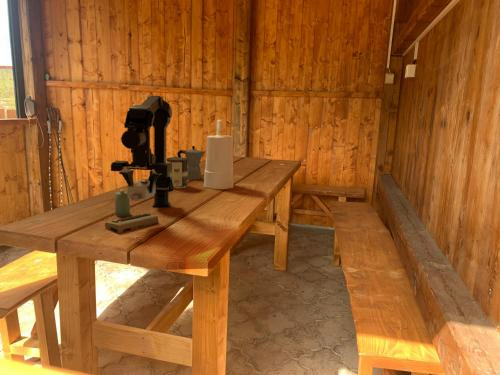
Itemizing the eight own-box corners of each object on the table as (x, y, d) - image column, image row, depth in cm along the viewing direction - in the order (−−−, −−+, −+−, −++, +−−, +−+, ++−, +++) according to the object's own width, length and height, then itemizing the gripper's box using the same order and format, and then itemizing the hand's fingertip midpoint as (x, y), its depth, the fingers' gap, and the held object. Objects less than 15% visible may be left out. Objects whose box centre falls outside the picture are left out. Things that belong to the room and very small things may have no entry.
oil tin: (116, 212, 144) (116, 188, 143) (130, 212, 145) (130, 188, 143) (114, 216, 140) (113, 191, 138) (128, 216, 140) (128, 191, 138)
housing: (143, 201, 123) (143, 186, 122) (125, 200, 123) (124, 185, 122) (157, 191, 136) (157, 178, 135) (140, 190, 137) (140, 178, 136)
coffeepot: (204, 176, 223) (204, 145, 219) (205, 179, 214) (206, 147, 210) (176, 176, 220) (176, 144, 216) (177, 179, 211) (177, 146, 207)
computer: (144, 219, 139) (144, 210, 138) (158, 224, 134) (158, 215, 134) (104, 228, 127) (104, 219, 126) (118, 234, 122) (118, 224, 122)
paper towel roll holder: (237, 188, 194) (239, 121, 187) (208, 189, 189) (209, 120, 182) (227, 182, 208) (229, 119, 201) (200, 183, 202) (201, 118, 196)
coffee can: (182, 183, 200) (182, 156, 198) (191, 187, 192) (191, 159, 189) (163, 185, 195) (163, 157, 192) (171, 189, 186) (171, 160, 184)
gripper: (175, 144, 133) (175, 189, 137) (122, 142, 135) (124, 186, 138) (166, 148, 123) (166, 196, 126) (109, 145, 124) (110, 193, 127)
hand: (141, 192), depth 129 cm, fingers closed on housing, 6 cm apart
